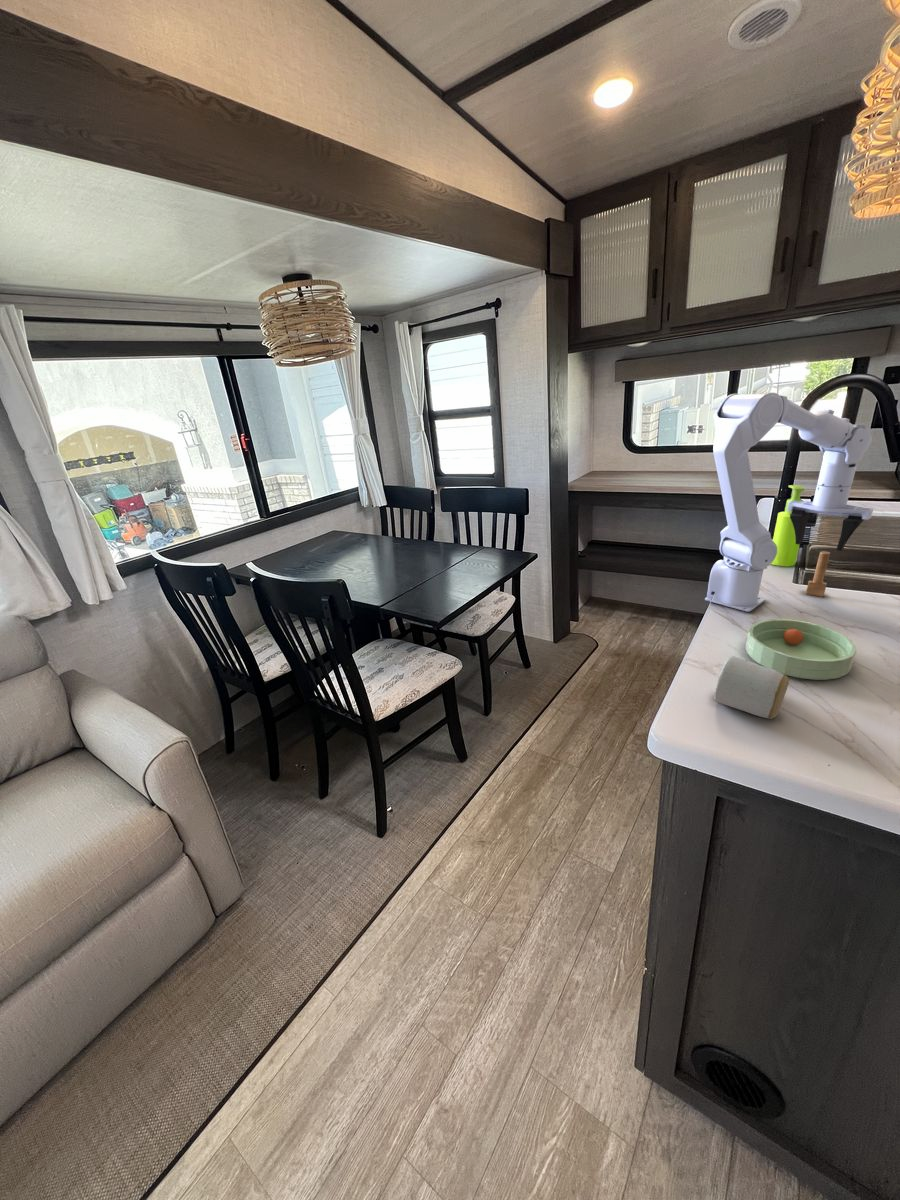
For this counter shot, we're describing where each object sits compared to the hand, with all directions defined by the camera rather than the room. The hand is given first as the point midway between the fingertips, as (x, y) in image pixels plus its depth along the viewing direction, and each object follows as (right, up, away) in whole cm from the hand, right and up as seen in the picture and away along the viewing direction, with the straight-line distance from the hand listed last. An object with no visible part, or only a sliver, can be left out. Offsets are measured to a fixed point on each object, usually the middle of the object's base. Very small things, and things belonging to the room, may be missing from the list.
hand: (818, 546), depth 104 cm
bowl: (-21, -22, -21) cm, 37 cm away
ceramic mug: (-36, -28, -31) cm, 55 cm away
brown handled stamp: (0, -11, +1) cm, 11 cm away
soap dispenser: (+6, -2, +20) cm, 21 cm away
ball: (-19, -19, -18) cm, 32 cm away
